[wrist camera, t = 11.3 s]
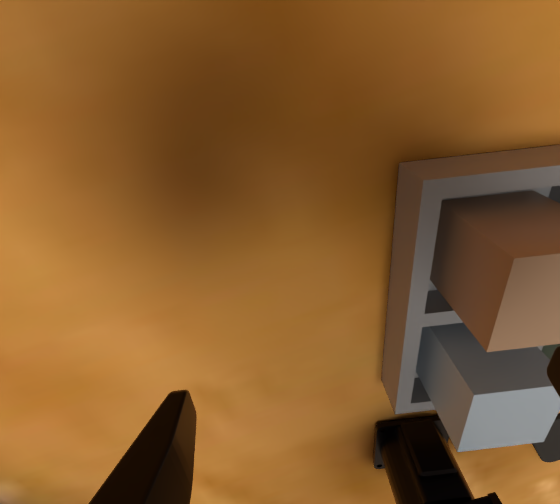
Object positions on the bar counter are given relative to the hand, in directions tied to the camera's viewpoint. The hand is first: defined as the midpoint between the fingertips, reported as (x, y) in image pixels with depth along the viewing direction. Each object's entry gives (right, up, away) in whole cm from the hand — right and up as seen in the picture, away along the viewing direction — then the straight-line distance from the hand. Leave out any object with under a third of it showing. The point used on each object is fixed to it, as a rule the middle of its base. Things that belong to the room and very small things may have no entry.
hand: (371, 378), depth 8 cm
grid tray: (+13, +2, +14) cm, 19 cm away
